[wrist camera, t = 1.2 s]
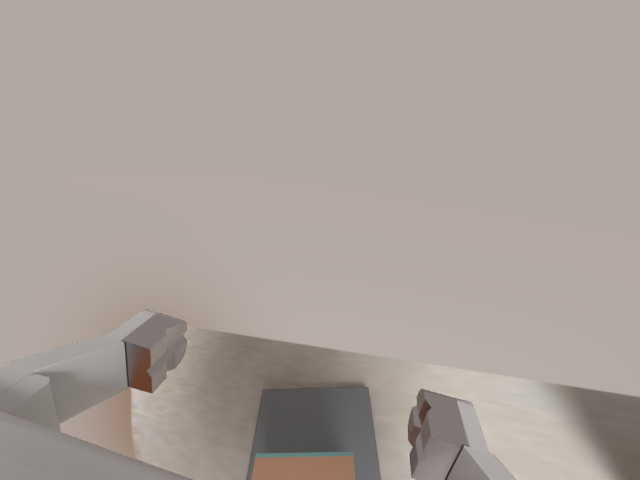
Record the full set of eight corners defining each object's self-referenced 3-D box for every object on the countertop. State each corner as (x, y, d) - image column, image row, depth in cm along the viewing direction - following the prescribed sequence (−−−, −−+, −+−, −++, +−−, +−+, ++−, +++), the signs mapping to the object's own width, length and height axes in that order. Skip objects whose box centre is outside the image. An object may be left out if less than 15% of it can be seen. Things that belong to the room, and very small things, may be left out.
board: (367, 393, 41) (368, 386, 40) (395, 598, 25) (396, 594, 24) (265, 396, 41) (263, 389, 40) (230, 598, 26) (226, 594, 25)
